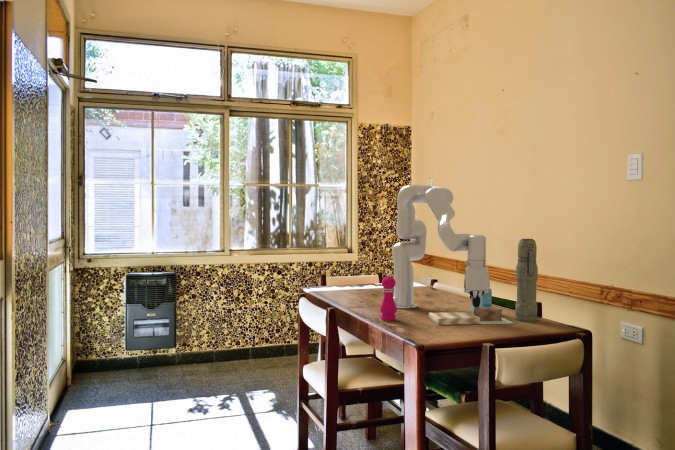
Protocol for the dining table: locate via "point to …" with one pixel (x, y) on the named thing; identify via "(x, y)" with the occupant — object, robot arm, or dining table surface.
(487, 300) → the data package
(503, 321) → the mat
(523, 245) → the stone moai statue
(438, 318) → the board
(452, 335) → the dining table surface
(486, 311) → the walnut box
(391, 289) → the pepper mill
